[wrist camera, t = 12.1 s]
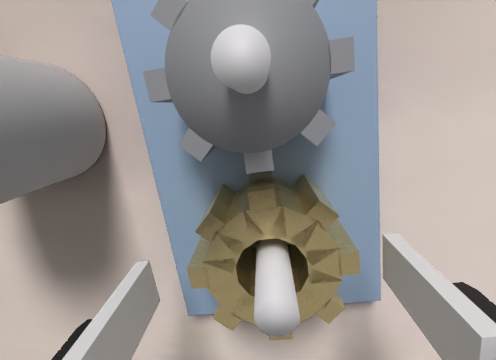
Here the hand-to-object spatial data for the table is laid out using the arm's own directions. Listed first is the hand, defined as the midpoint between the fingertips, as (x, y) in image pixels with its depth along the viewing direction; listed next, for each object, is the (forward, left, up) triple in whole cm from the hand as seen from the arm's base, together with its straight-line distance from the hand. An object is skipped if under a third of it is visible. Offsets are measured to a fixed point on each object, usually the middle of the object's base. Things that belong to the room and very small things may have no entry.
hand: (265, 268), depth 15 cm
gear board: (0, +5, -7) cm, 9 cm away
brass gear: (0, 0, -5) cm, 5 cm away
